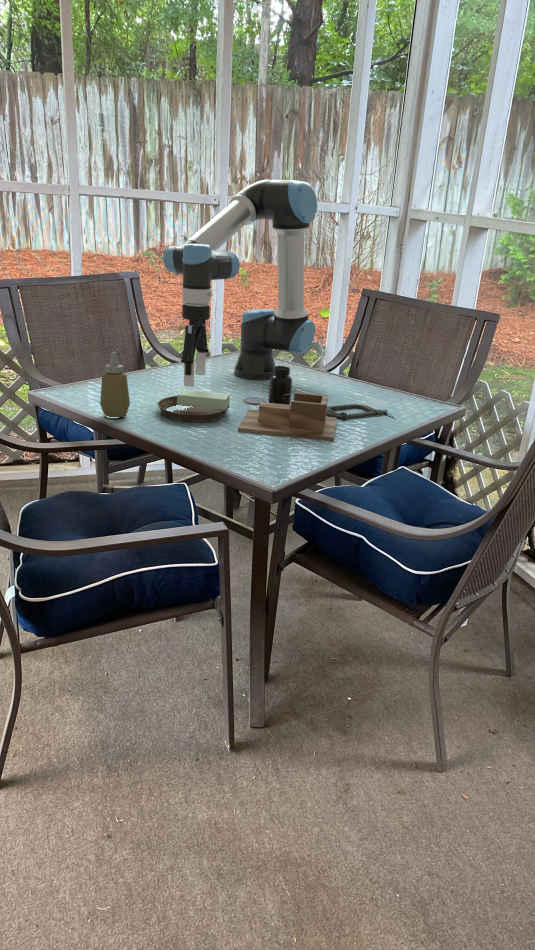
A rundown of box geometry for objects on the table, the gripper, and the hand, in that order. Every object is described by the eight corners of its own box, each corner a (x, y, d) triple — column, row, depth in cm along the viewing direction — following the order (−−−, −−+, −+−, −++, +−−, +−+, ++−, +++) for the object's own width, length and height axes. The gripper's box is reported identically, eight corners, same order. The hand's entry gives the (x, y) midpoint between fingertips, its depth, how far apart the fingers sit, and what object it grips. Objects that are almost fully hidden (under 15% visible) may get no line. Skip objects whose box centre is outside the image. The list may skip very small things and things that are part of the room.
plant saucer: (152, 405, 198) (152, 394, 197) (219, 403, 205) (219, 392, 204) (164, 427, 180) (164, 415, 179) (237, 424, 187) (238, 412, 186)
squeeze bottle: (117, 422, 180) (115, 357, 173) (94, 416, 184) (91, 352, 177) (136, 415, 187) (135, 352, 180) (114, 410, 190) (112, 347, 183)
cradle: (248, 412, 196) (249, 384, 193) (336, 421, 194) (339, 392, 191) (237, 431, 180) (239, 400, 177) (333, 440, 177) (336, 410, 174)
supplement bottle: (288, 410, 201) (291, 371, 197) (266, 407, 202) (268, 368, 198) (291, 404, 207) (294, 366, 203) (270, 401, 208) (273, 363, 204)
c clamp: (369, 406, 213) (370, 397, 212) (400, 422, 198) (401, 413, 197) (313, 410, 205) (314, 401, 204) (341, 427, 190) (342, 418, 189)
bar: (182, 399, 195) (182, 389, 193) (229, 404, 193) (229, 394, 192) (177, 404, 189) (177, 394, 188) (225, 409, 188) (225, 399, 186)
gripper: (199, 311, 169) (197, 392, 177) (219, 299, 192) (216, 371, 200) (170, 309, 170) (170, 390, 178) (193, 297, 193) (192, 369, 201)
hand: (194, 380), depth 189 cm, fingers open, 13 cm apart
